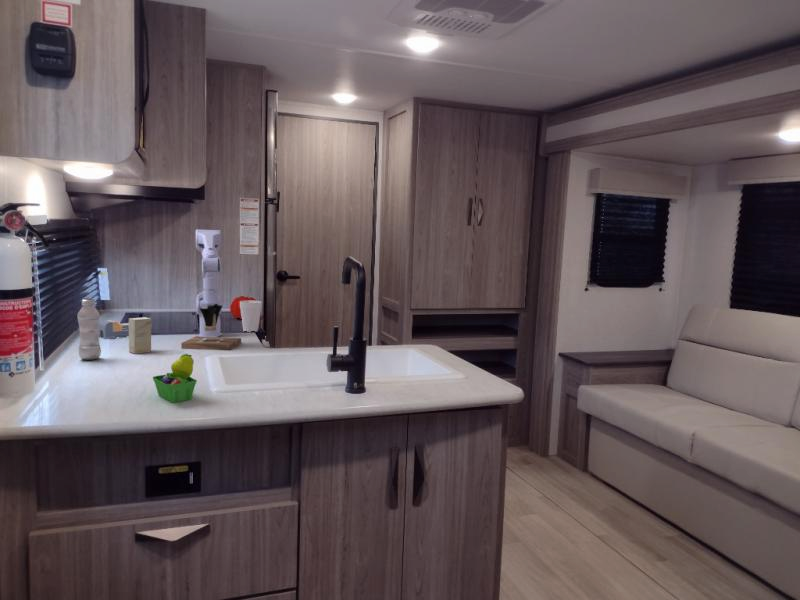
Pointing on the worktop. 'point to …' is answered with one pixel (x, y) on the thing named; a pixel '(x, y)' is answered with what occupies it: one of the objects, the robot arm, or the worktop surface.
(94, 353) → the plastic bottle
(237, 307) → the tomato
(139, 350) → the skincare box
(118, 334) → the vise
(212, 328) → the peg
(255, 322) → the foam cup
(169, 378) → the fruit basket
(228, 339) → the socket board
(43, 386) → the worktop surface
